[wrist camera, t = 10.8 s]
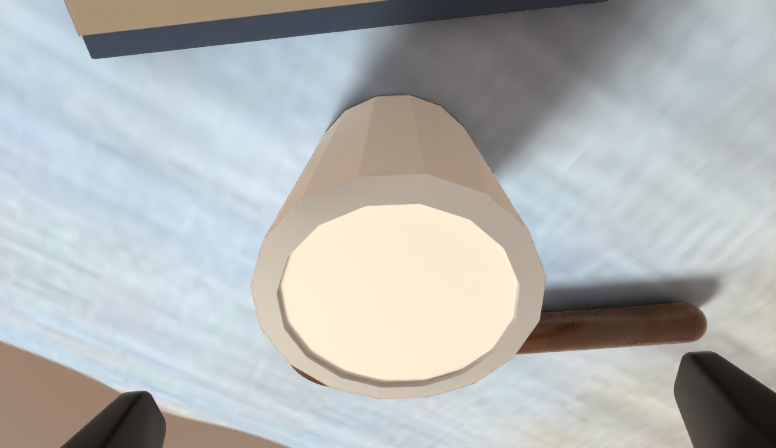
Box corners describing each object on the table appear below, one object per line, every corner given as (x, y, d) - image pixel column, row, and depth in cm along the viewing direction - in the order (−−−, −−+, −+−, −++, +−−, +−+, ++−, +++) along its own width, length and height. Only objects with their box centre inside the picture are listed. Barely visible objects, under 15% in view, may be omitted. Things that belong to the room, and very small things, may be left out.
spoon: (707, 261, 19) (731, 287, 18) (682, 348, 22) (701, 377, 21) (276, 295, 21) (268, 322, 19) (299, 374, 23) (293, 403, 22)
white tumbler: (529, 191, 18) (598, 331, 12) (377, 280, 20) (371, 435, 14) (421, 28, 15) (441, 106, 9) (256, 153, 17) (184, 282, 11)
